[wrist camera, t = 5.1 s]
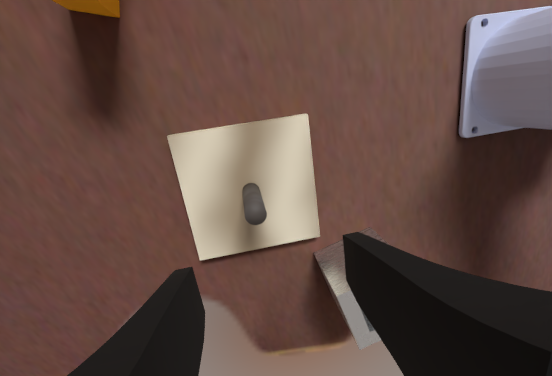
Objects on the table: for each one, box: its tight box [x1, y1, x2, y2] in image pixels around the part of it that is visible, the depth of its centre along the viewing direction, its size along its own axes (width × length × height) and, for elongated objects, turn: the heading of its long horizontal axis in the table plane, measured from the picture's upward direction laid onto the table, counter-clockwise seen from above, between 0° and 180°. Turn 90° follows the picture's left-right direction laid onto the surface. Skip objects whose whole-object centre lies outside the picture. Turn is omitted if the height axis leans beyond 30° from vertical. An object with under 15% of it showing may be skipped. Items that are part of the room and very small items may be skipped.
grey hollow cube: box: [314, 227, 389, 350], centre depth 20 cm, size 5×5×5 cm
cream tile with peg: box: [167, 114, 320, 261], centre depth 17 cm, size 9×9×5 cm
